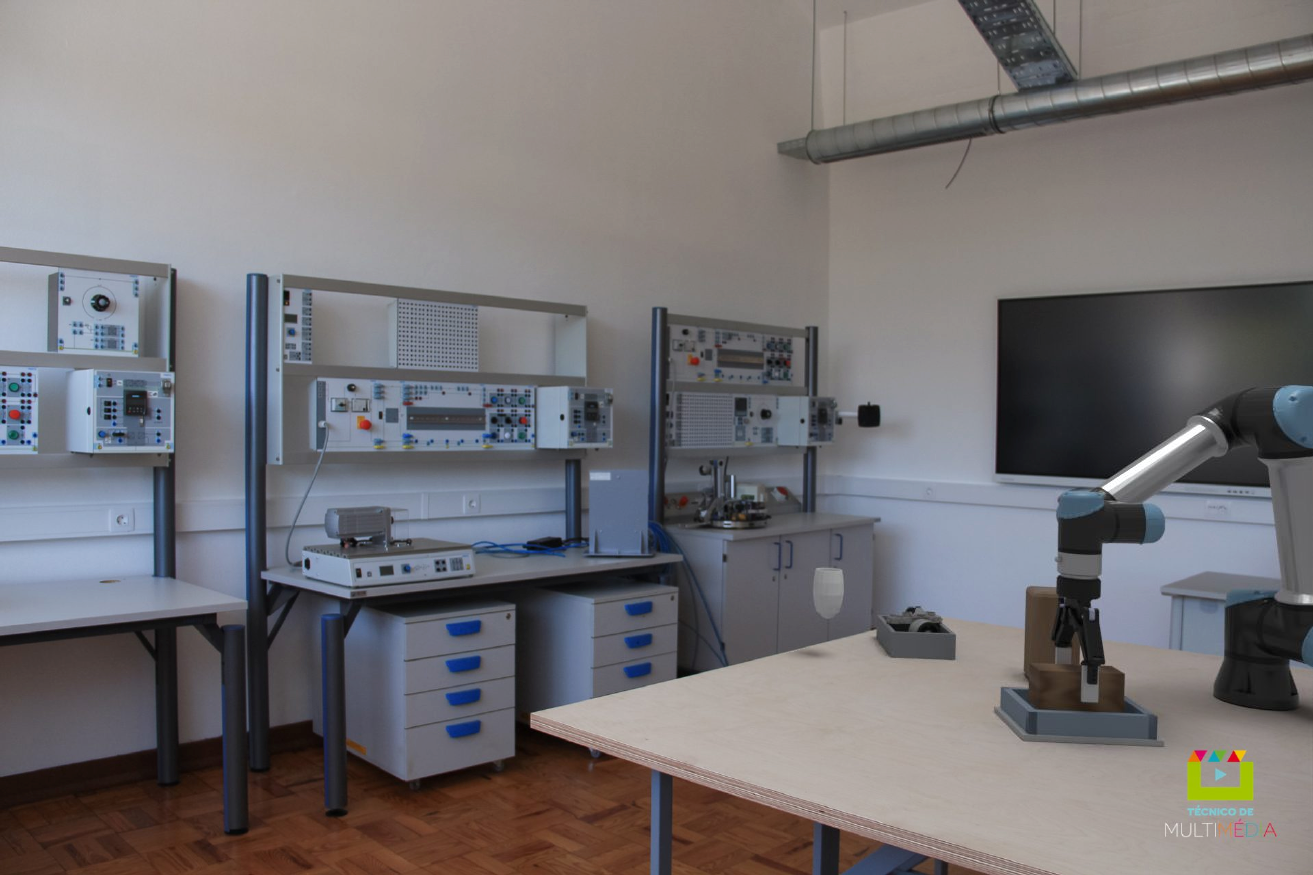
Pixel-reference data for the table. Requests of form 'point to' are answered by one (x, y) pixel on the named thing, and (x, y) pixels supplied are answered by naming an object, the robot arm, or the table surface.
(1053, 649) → the wooden block
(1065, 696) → the brown wooden bar
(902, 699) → the table surface
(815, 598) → the cup
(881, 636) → the camera corral
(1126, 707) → the peg frame
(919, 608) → the camera
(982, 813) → the table surface
